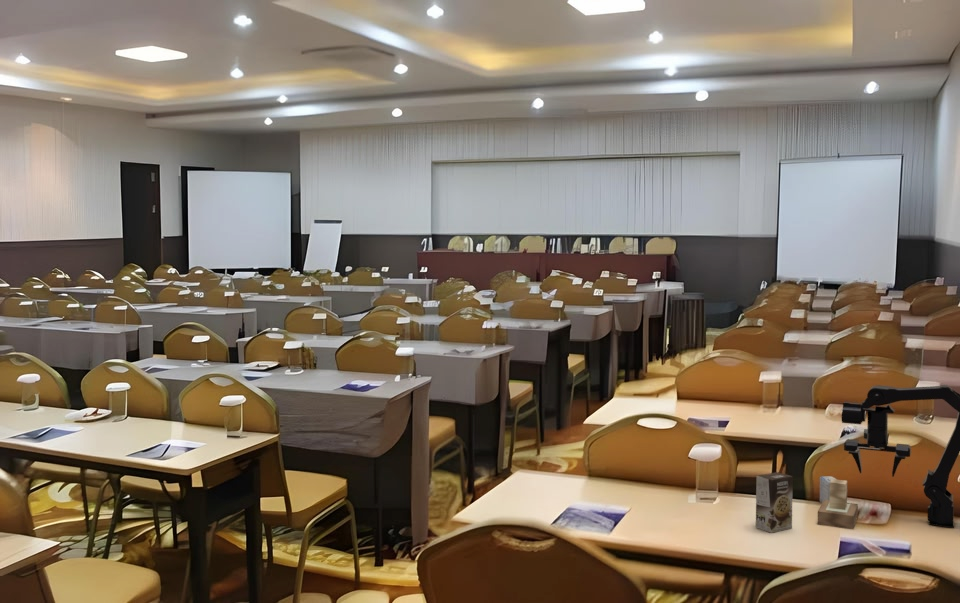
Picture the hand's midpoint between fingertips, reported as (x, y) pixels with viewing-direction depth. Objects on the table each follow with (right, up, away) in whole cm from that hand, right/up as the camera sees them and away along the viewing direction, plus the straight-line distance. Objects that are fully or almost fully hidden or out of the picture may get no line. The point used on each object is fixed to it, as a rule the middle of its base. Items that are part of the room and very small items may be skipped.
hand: (876, 474), depth 258 cm
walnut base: (-14, -13, -4) cm, 20 cm away
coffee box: (-36, -14, -11) cm, 40 cm away
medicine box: (-10, -13, +12) cm, 20 cm away
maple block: (-14, -9, -4) cm, 17 cm away
